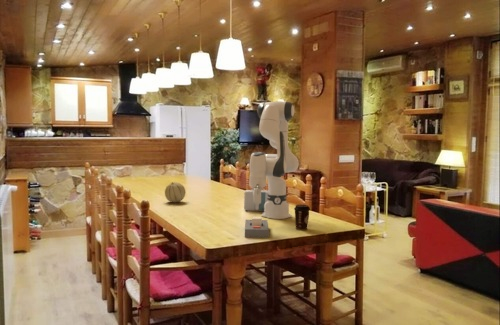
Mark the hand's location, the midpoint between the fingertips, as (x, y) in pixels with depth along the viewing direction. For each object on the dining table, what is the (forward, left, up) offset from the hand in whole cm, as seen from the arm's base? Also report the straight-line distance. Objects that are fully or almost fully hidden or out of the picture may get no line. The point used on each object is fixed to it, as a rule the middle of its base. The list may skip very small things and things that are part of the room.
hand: (256, 209), depth 216 cm
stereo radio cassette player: (-58, +3, -12) cm, 60 cm away
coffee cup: (-9, +25, -12) cm, 29 cm away
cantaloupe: (-81, -58, -12) cm, 100 cm away
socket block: (0, 0, -12) cm, 12 cm away
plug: (0, 0, -12) cm, 12 cm away
